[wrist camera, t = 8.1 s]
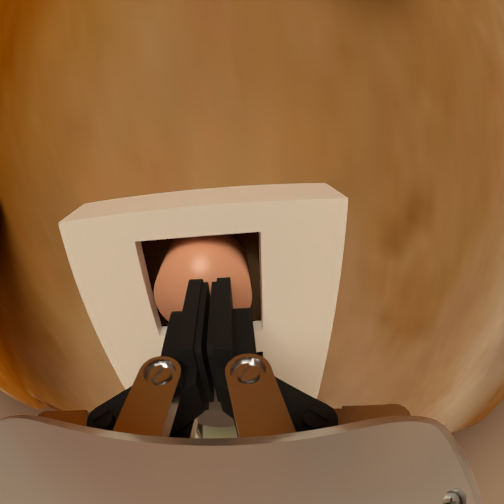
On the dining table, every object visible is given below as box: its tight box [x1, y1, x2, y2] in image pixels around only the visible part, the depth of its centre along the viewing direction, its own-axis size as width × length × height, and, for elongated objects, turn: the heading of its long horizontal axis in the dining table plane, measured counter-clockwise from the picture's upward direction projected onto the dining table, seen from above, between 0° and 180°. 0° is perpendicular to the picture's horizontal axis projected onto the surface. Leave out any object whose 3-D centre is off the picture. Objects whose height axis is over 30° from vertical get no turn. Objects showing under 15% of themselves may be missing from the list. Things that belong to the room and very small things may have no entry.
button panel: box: [58, 183, 348, 438], centre depth 17 cm, size 13×22×3 cm, turn 2°
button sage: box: [203, 425, 237, 438], centre depth 20 cm, size 4×4×3 cm
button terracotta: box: [154, 234, 252, 322], centre depth 14 cm, size 4×4×3 cm
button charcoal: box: [198, 389, 235, 427], centre depth 15 cm, size 4×4×3 cm
